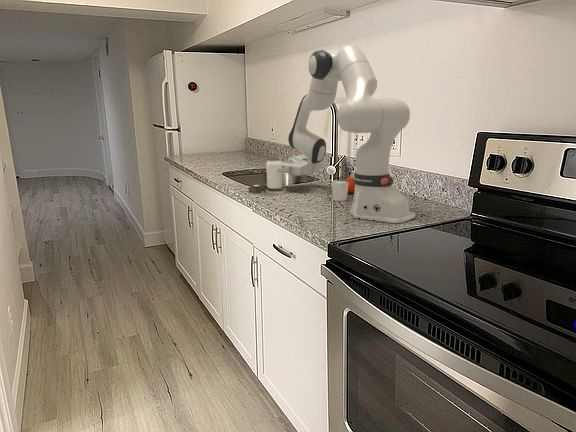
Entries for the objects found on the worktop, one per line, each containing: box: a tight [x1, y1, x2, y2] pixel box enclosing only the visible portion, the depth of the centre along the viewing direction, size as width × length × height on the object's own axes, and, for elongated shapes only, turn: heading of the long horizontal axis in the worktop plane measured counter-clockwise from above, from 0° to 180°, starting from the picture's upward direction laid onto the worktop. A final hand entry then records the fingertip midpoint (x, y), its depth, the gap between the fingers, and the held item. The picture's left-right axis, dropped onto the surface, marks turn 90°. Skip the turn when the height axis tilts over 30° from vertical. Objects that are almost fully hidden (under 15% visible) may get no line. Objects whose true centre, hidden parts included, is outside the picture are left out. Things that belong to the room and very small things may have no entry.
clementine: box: [344, 176, 355, 194], centre depth 193 cm, size 8×7×7 cm
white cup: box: [331, 180, 349, 202], centre depth 182 cm, size 7×7×7 cm
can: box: [266, 158, 283, 189], centre depth 191 cm, size 6×6×12 cm
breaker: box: [250, 184, 262, 188], centre depth 193 cm, size 4×3×2 cm
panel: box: [247, 183, 291, 198], centre depth 192 cm, size 14×12×4 cm
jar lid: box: [265, 187, 288, 196], centre depth 192 cm, size 9×9×1 cm
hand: (273, 170), depth 189 cm, fingers closed on can, 4 cm apart
